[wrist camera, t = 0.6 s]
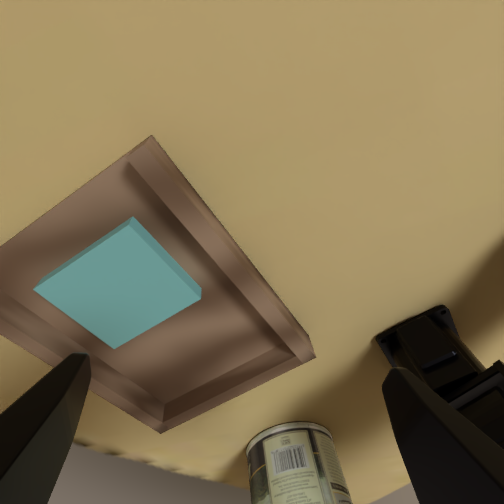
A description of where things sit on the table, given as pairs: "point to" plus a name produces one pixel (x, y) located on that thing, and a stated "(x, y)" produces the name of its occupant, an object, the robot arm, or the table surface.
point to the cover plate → (120, 285)
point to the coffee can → (295, 466)
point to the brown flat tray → (173, 328)
